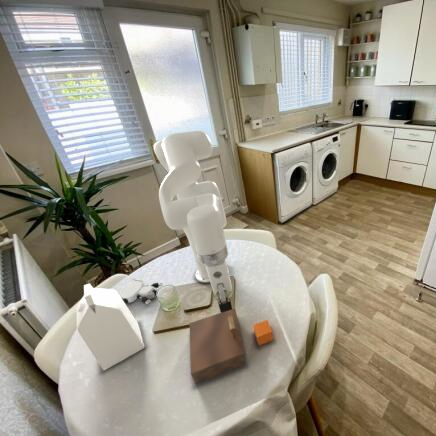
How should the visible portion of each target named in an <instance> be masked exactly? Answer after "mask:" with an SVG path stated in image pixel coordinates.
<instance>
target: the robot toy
mask: <svg viewBox="0 0 436 436" xmlns="http://www.w3.org/2000/svg"><path fill="white" fill-rule="evenodd" d="M130 280H131V281H129V282H128V283H126V284H125V285H123V287H121V288H120V290H119V291H118V294H119V295H120V297H121V298H122V300H123V301H124V303H125V304H131V303H133V302H135V301H136V300H137V299H138V300H140V301H141V302H142V303H143V304H145V305H149V304H150V303H151V302H152V301H151V300H150V299H154V298H155V297H156V296H157V295H156V292H157V293H158V288H159V287H162V286H163V282H154V283H152V284H151V285H145V283H144V282H143V280H140V279H135V278H130Z"/></svg>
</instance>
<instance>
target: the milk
mask: <svg viewBox="0 0 436 436" xmlns="http://www.w3.org/2000/svg"><path fill="white" fill-rule="evenodd" d="M118 293H119V291H118V290H116V289H113V288H103V287H102V288H100V287H93V286H92V285H91V283H86V284H84V285H83V296H82V297H81V299H80V300H79V302H78V303H77V305H76V308H75V312H76V313H75V315H76V316H75V317H76V319H75V320H76V329H77V332H78V334H79V335H80V337H81V339H82V340H83V342H84V343H85V345H86V346H87V348H88V349H89V351H90V352H91V354H92V355H93V357H94V358H95V360H96V361H97V363H98V364H99V366H100V367H101V369H102V370H103V371H107V370H108V369H110V368H111V367H113V366H115V365H116V364H118V363H120V362H122V361H124V360H125V359H127V358H130V356H132V355H135V354H136V353H138V352H139V351H141V350H143V349H145V343H144V340H143V336H142V333H141V328H140V326H139V323H138V321H137V320H136V318H135V316H134V315H133V314H132V312H131V311H130V309H129V307H128V306H127V303H124V301H123V300H122V298H121V297H120V295H119V294H118Z"/></svg>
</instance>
